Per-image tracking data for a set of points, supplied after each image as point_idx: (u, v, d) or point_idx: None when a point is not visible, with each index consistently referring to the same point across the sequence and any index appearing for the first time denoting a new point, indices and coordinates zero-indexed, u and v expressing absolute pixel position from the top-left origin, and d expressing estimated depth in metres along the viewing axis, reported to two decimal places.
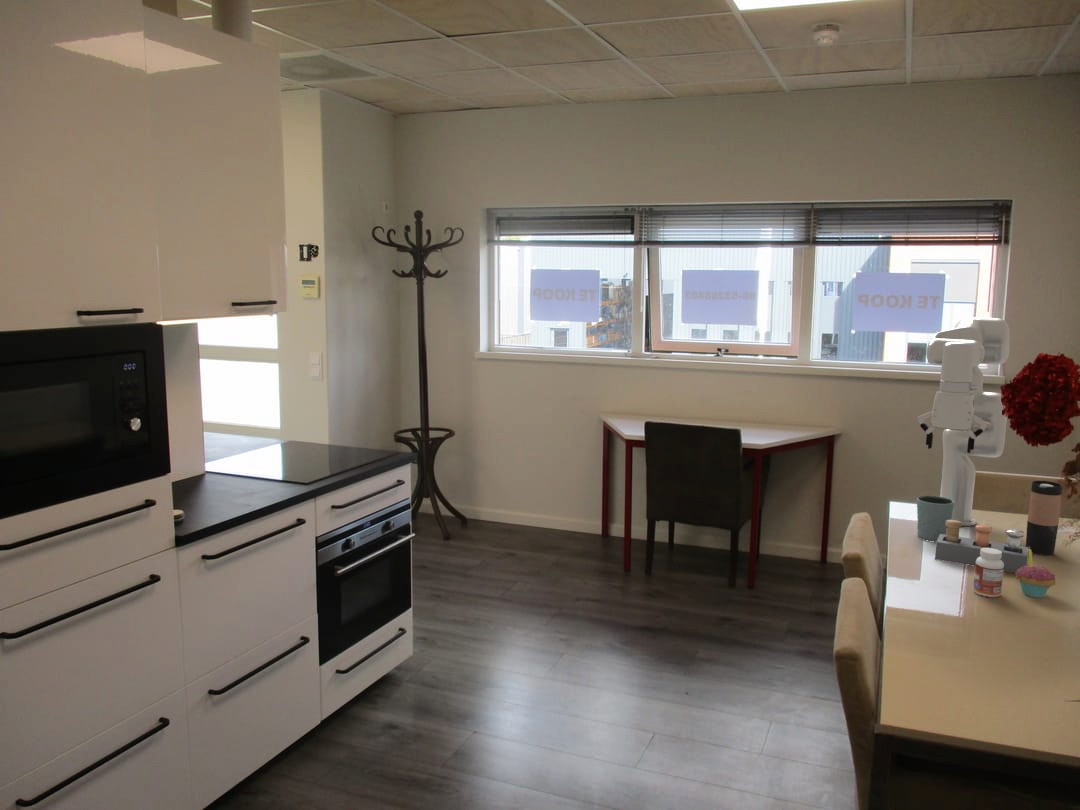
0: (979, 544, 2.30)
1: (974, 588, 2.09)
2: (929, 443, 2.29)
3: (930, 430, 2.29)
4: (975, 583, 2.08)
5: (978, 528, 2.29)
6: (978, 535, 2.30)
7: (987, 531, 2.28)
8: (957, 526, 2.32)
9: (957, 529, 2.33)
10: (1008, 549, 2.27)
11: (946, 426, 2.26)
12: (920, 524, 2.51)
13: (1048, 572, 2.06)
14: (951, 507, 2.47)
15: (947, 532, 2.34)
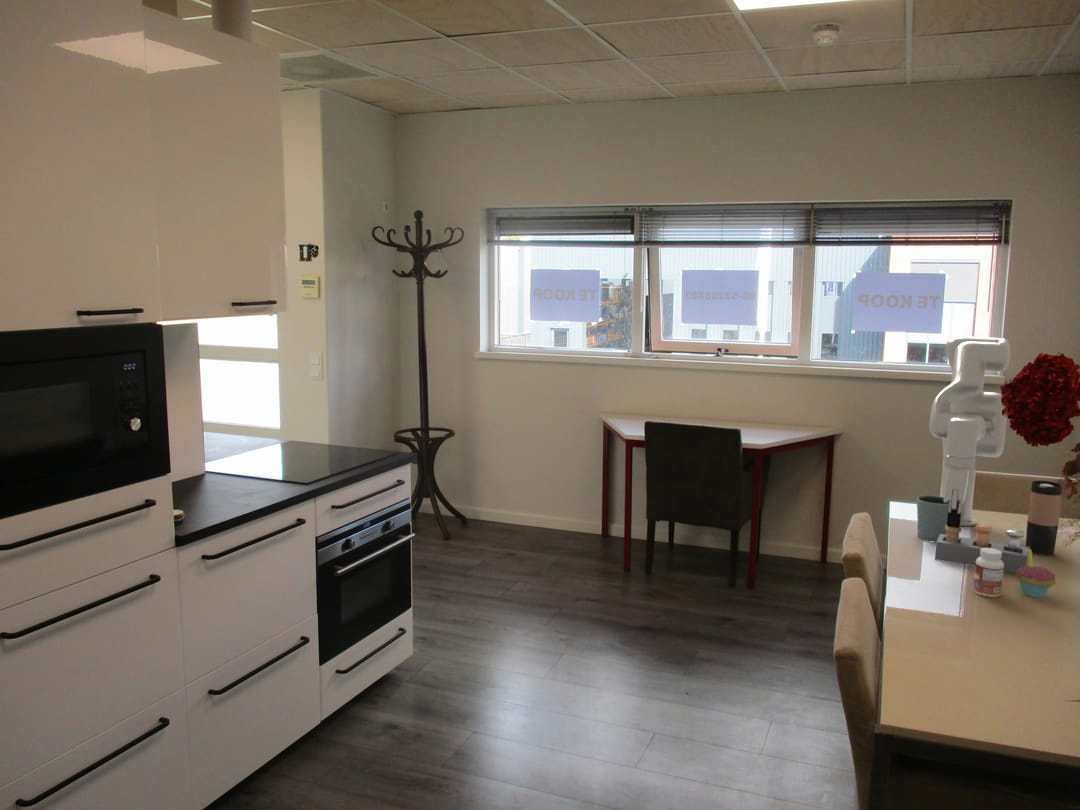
0: (979, 544, 2.30)
1: (974, 588, 2.09)
2: None
3: None
4: (975, 583, 2.08)
5: (978, 528, 2.29)
6: (978, 535, 2.30)
7: (987, 531, 2.28)
8: (957, 530, 2.32)
9: (957, 533, 2.33)
10: (1008, 549, 2.27)
11: None
12: (920, 524, 2.51)
13: (1048, 572, 2.06)
14: None
15: (947, 536, 2.34)
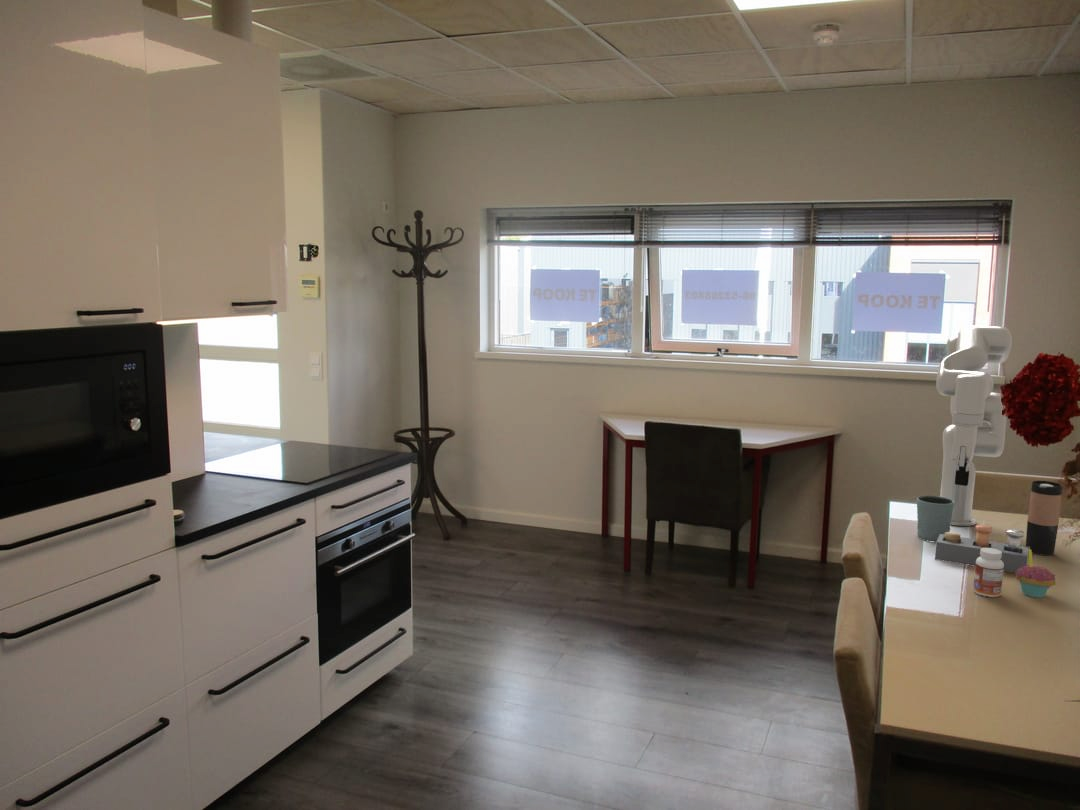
0: (979, 544, 2.30)
1: (974, 588, 2.09)
2: None
3: None
4: (975, 583, 2.08)
5: (978, 528, 2.29)
6: (978, 535, 2.30)
7: (987, 531, 2.28)
8: (956, 538, 2.33)
9: (956, 541, 2.33)
10: (1008, 549, 2.27)
11: None
12: (920, 524, 2.51)
13: (1048, 572, 2.06)
14: (951, 507, 2.47)
15: None
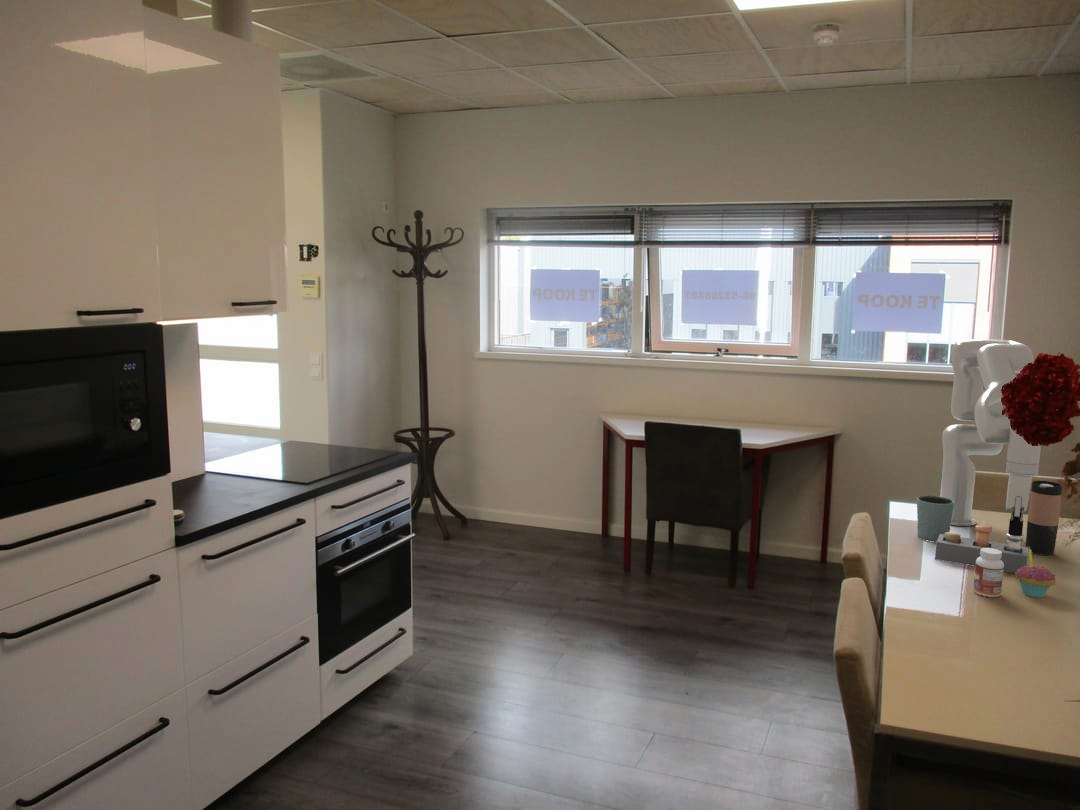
0: (979, 544, 2.30)
1: (974, 588, 2.09)
2: None
3: (1022, 517, 2.24)
4: (975, 583, 2.08)
5: (978, 528, 2.29)
6: (978, 535, 2.30)
7: (987, 531, 2.28)
8: (956, 538, 2.33)
9: (956, 541, 2.33)
10: None
11: None
12: (920, 524, 2.51)
13: (1048, 572, 2.06)
14: (951, 507, 2.47)
15: None
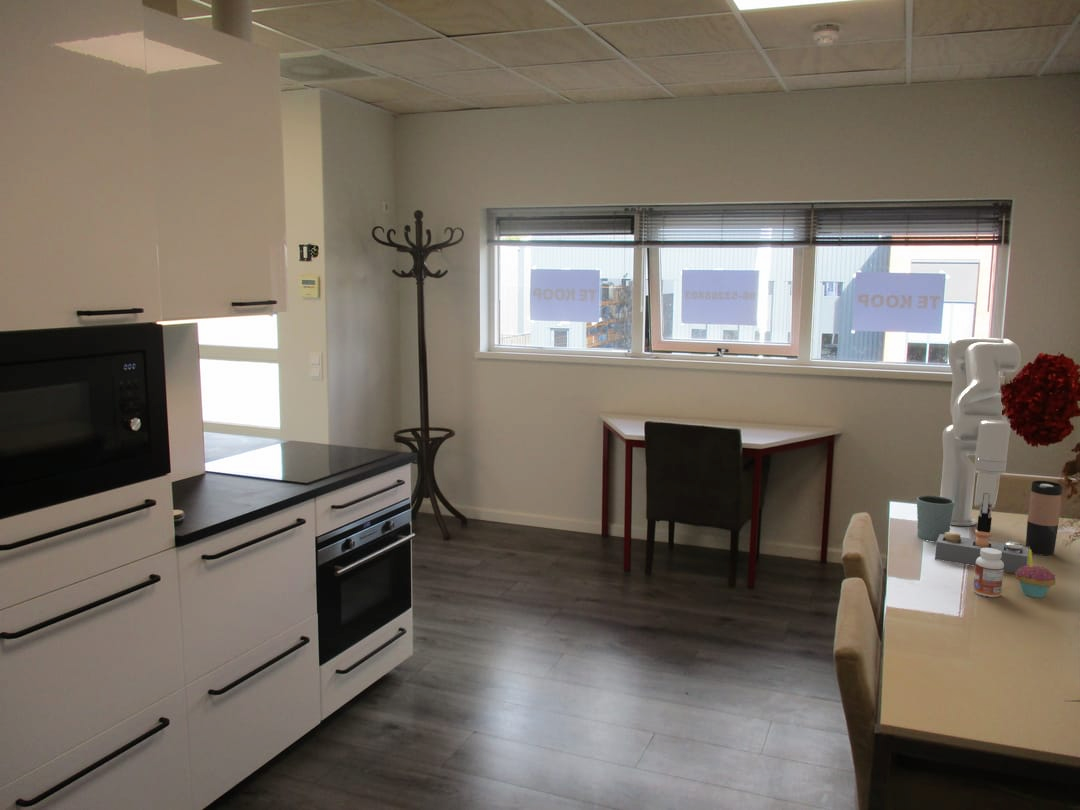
0: None
1: (974, 588, 2.09)
2: None
3: (990, 514, 2.28)
4: (975, 583, 2.08)
5: (978, 532, 2.30)
6: (978, 539, 2.30)
7: (987, 535, 2.29)
8: (956, 538, 2.33)
9: (956, 541, 2.33)
10: None
11: None
12: (920, 524, 2.51)
13: (1048, 572, 2.06)
14: (951, 507, 2.47)
15: None
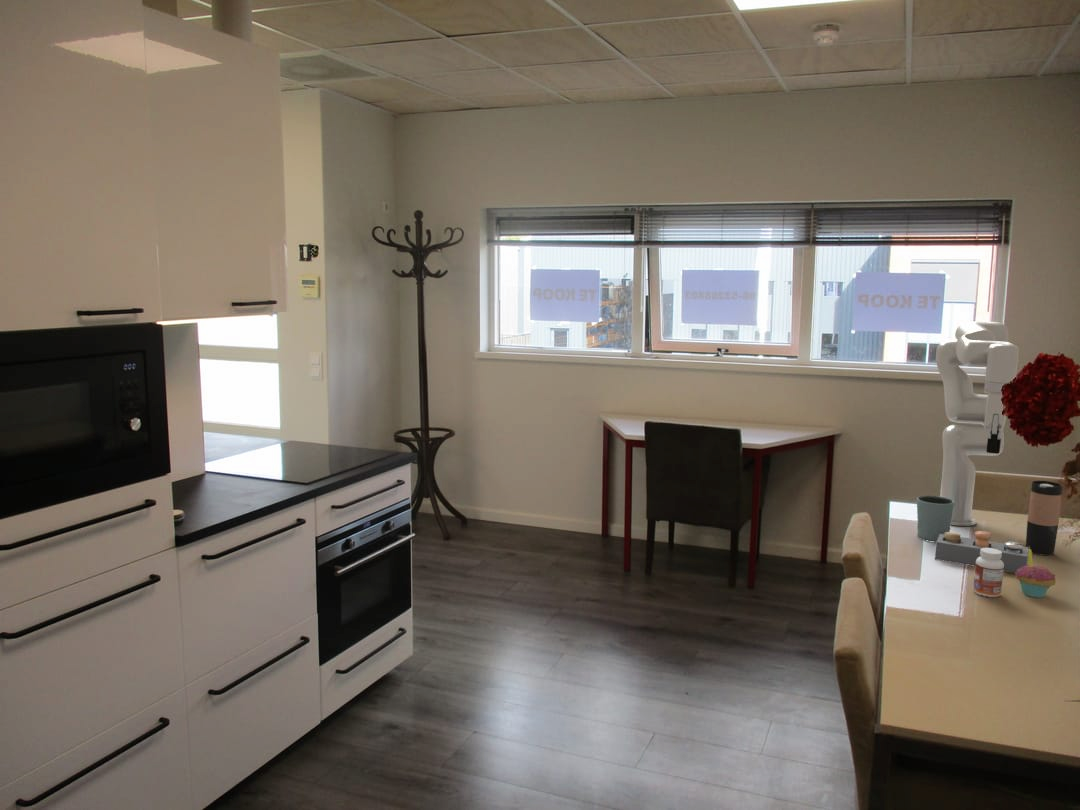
0: None
1: (974, 588, 2.09)
2: None
3: (999, 435, 2.34)
4: (975, 583, 2.08)
5: (977, 535, 2.30)
6: (977, 542, 2.30)
7: (986, 538, 2.29)
8: (956, 538, 2.33)
9: (956, 541, 2.33)
10: None
11: None
12: (920, 524, 2.51)
13: (1048, 572, 2.06)
14: (951, 507, 2.47)
15: None
